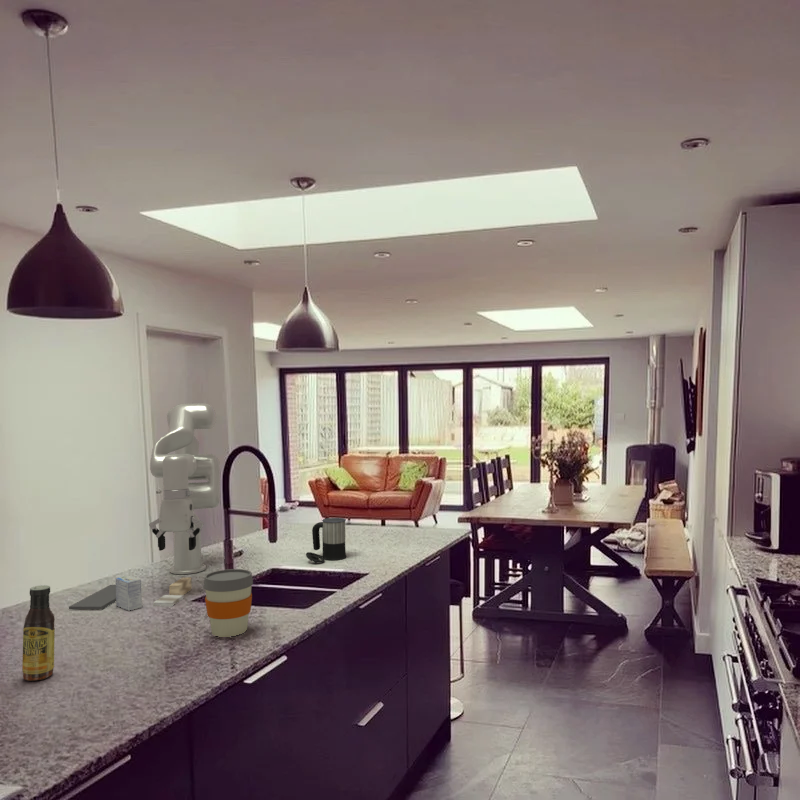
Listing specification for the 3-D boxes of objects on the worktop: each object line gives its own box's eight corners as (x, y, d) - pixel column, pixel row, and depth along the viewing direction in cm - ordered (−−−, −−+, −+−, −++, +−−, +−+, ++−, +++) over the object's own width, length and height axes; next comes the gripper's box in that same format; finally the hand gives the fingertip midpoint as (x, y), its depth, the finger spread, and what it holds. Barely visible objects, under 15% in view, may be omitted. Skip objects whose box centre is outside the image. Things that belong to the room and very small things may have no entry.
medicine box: (142, 608, 200) (142, 578, 200) (128, 611, 197) (127, 581, 197) (130, 603, 205) (129, 574, 205) (115, 606, 202) (115, 577, 202)
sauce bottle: (16, 683, 146) (15, 591, 147) (31, 671, 153) (29, 584, 153) (47, 681, 147) (45, 590, 147) (60, 670, 153) (59, 583, 153)
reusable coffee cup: (212, 624, 183) (210, 569, 183) (258, 623, 183) (257, 568, 183) (198, 640, 171) (197, 581, 171) (248, 639, 171) (247, 580, 171)
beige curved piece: (178, 589, 219) (177, 577, 219) (196, 589, 219) (195, 577, 219) (153, 606, 201) (153, 593, 201) (172, 606, 201) (172, 593, 201)
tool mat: (110, 587, 223) (110, 584, 223) (139, 587, 223) (139, 584, 223) (68, 610, 199) (68, 606, 199) (101, 610, 199) (101, 606, 199)
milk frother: (348, 555, 264) (347, 517, 264) (341, 565, 248) (340, 524, 248) (313, 555, 265) (312, 517, 265) (303, 564, 250) (302, 524, 250)
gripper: (207, 493, 215) (208, 547, 215) (154, 494, 217) (155, 547, 216) (198, 496, 208) (199, 551, 207) (144, 496, 209) (145, 552, 209)
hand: (177, 549), depth 212 cm, fingers open, 9 cm apart
